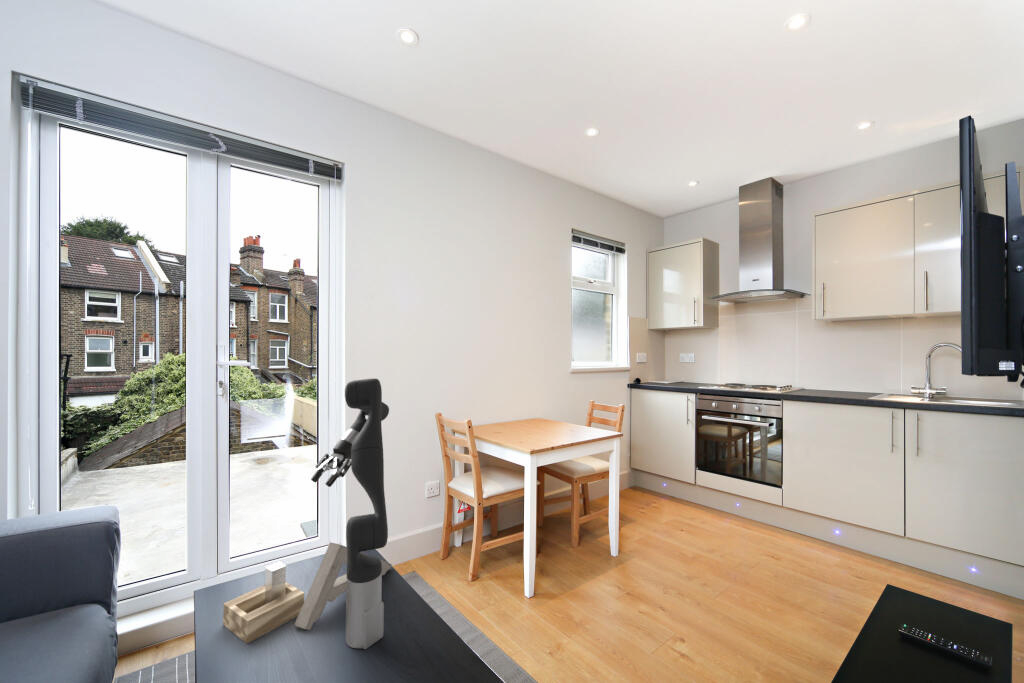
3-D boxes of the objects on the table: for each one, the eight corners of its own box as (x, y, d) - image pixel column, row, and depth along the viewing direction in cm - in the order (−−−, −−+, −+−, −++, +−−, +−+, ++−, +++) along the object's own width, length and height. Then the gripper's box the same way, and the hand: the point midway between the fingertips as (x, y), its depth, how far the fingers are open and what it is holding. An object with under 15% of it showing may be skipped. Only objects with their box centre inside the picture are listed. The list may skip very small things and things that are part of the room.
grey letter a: (366, 636, 140) (305, 629, 118) (355, 633, 142) (293, 625, 119) (391, 564, 152) (340, 544, 130) (382, 561, 154) (330, 542, 131)
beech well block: (303, 612, 127) (304, 592, 127) (247, 643, 113) (247, 621, 113) (279, 597, 134) (279, 578, 135) (223, 624, 121) (223, 603, 121)
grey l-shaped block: (285, 608, 127) (285, 565, 127) (249, 626, 119) (250, 580, 119) (278, 604, 129) (279, 561, 129) (242, 621, 121) (243, 576, 121)
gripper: (331, 436, 158) (301, 474, 148) (355, 440, 150) (325, 481, 140) (343, 447, 162) (315, 485, 152) (367, 452, 155) (339, 492, 145)
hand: (320, 483), depth 146 cm, fingers open, 8 cm apart
